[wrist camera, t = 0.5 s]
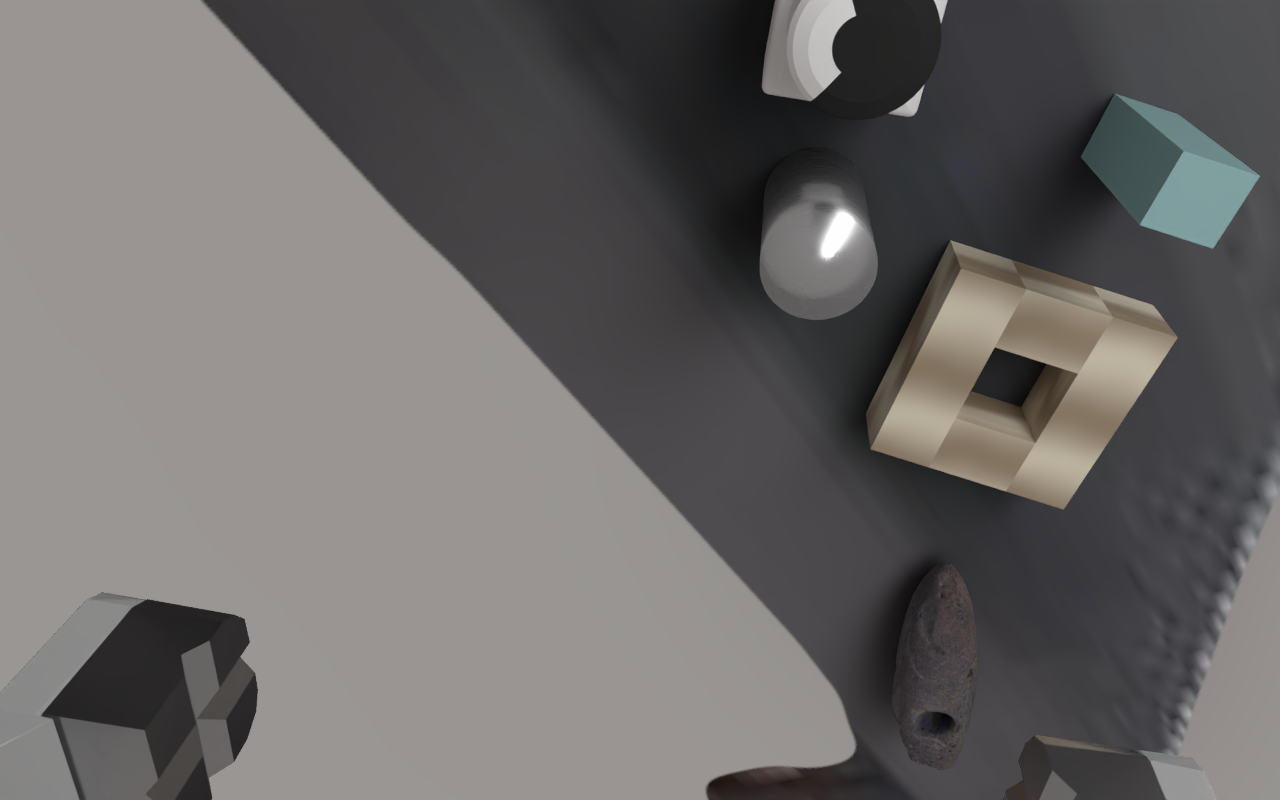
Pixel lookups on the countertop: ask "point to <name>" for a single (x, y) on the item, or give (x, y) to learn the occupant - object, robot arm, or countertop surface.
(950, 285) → the bore block
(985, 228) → the countertop surface
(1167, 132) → the square bit
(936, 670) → the perforated stone tool
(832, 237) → the cylinder
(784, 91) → the medicine bottle
